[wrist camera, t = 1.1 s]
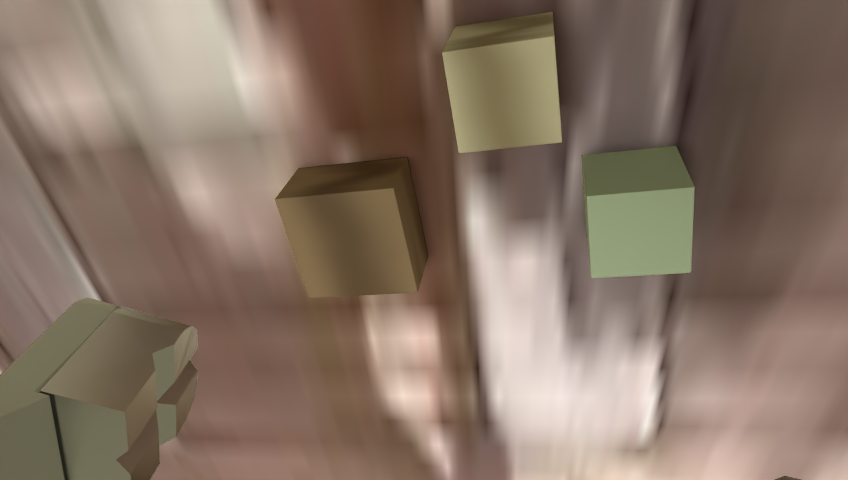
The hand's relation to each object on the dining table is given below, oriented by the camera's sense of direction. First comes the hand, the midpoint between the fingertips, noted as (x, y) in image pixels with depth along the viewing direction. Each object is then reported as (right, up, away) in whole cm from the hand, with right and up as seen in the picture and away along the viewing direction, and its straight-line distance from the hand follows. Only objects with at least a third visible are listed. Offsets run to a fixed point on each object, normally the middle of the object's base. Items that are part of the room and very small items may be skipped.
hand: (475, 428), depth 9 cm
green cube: (+11, +6, +27) cm, 30 cm away
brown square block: (-4, +4, +31) cm, 31 cm away
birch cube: (+4, +12, +24) cm, 27 cm away
